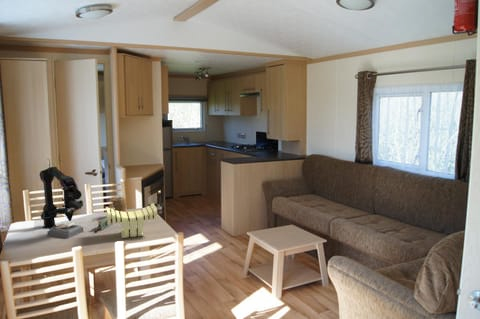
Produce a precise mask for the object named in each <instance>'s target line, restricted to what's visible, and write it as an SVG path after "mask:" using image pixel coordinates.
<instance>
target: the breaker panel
mask: <svg viewBox="0 0 480 319" xmlns="http://www.w3.org/2000/svg"><path fill="white" fill-rule="evenodd" d="M63 224H64V223H60V224H56V226H55V227H52V228H49V230H48V231H47V236H48V237H52V238H53V237H55V238H62V239H63V238H64V239H70V238H73V237H75V236H78V235H79V234H81V233H83V232H84V226H82V225H79V224H74V225H71V226H69V227H64V228H60V229H56V227H58V226H60V225H63Z"/></svg>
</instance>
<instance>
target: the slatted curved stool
mask: <svg viewBox="0 0 480 319" xmlns="http://www.w3.org/2000/svg"><path fill="white" fill-rule="evenodd" d="M105 208H106V217H107V222H108V225H110V224H111V223H113V224H112V225H114V224H117V225H121V228H122V229H121V231H120V233H121V238H122V239H124V238H125V239H126V238H135V237H144V233H143V228H144V225H145V223H147V222H148V221H153V220H154V221H158V210H157V206H156V205H155V203H154V202H152V203H151V204H150V205H147V206H146V207H143V208H142V209H138V210H134V211H126V212H128V216H129V218H128V216H127V213H126V212H122V211H120V214H119V211H117V210H115V209H113V208H110V207H107V206H106V207H105ZM111 214H112V219H111ZM120 215H121V218H120ZM115 217H116V218H115ZM110 226H111V225H110Z"/></svg>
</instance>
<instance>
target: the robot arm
mask: <svg viewBox="0 0 480 319" xmlns="http://www.w3.org/2000/svg"><path fill="white" fill-rule="evenodd" d="M38 176H39V178H40V181H41V182H42V183H43V195H44V201H45V202H44V206H43V208H42V212H41V214H40V219H41V220H43V226H41V227H42V228H43V229H50V228H52V227H55V226H57V224H56V220H55V218H57V216H58V214H60V215H65V217H66V219H67V221H69V222H71V221H72V219H73V216H74V213H75V212H76V211H78V210H81V209H82V208H83V206H84V201H83V200H81V198H82V192H81V191H80V190H79V188H78V185H77V183H76V181H75V178H73V177H72V176H70V175H65V173H63V172H62V171H60V170H59V169H58V167H57V166H50V167H48V168H46V169H44V170H41V171H40V172H39V175H38ZM54 179H57V180H58V181H59V184H60V186H61V187H62V188H61V191H62V192H63V199H62V201H63V205H62V207H58V206H56V205H55V204H54V197H53V196H54V195H53V186H52V185H53V184H52V183H53V181H54ZM79 199H80V200H79Z"/></svg>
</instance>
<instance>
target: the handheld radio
mask: <svg viewBox="0 0 480 319" xmlns="http://www.w3.org/2000/svg"><path fill="white" fill-rule="evenodd" d="M110 215H111V219H112V214H111V213H110ZM115 218H116V219H117V217H116V216H115ZM97 222H98V223H97V224H98V228H97V229H96V230H94V232H95V233H98V232H99V231H103V230H105V229H107V228H108V227H110V226H112V225H114V224H113V223H111V224H110V225H108V222H107V216H106V217H103V218H102V219H100V220H98V221H97Z"/></svg>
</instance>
